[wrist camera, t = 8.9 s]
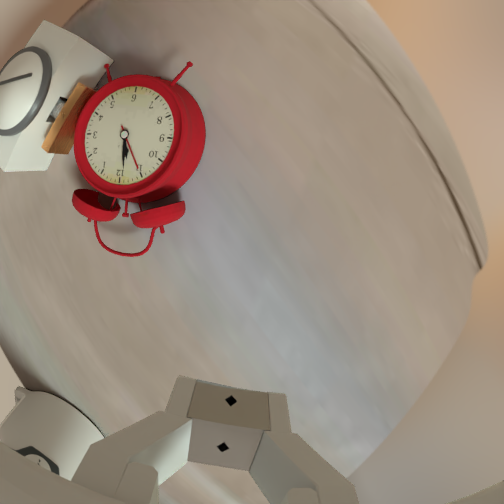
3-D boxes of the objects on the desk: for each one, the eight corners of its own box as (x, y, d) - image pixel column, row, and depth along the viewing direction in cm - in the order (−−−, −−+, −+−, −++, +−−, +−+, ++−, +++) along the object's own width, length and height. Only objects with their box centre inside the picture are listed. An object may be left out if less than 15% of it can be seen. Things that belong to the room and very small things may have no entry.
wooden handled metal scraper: (67, 154, 22) (47, 153, 19) (31, 122, 21) (11, 119, 18) (104, 95, 21) (85, 86, 18) (63, 68, 20) (45, 60, 17)
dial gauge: (51, 174, 23) (1, 177, 17) (14, 138, 22) (-32, 135, 16) (119, 63, 21) (80, 36, 14) (73, 38, 20) (34, 14, 13)
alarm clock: (211, 54, 17) (164, 272, 18) (220, 94, 24) (187, 266, 24) (87, 59, 18) (36, 245, 18) (115, 91, 24) (79, 246, 24)
